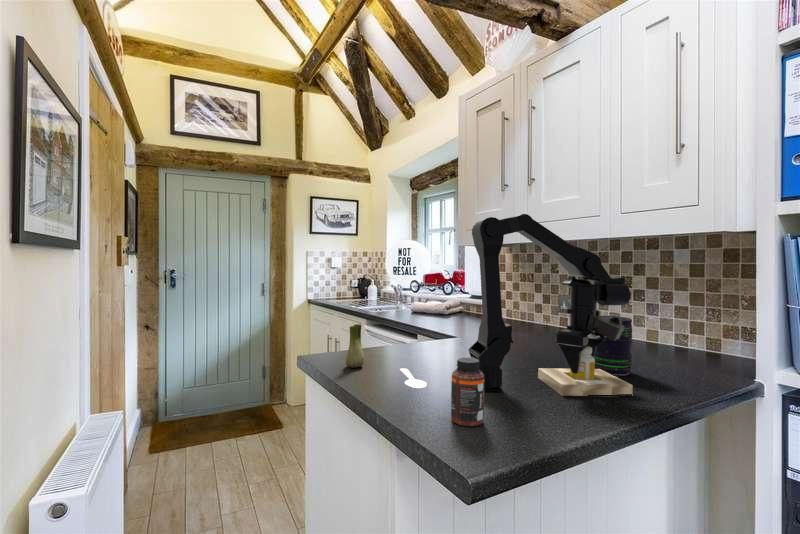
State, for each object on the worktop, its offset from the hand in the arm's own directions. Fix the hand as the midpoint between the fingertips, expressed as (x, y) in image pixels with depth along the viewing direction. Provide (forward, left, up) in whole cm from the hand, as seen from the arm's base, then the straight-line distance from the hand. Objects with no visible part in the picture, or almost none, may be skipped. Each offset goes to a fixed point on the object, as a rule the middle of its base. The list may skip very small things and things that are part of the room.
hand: (582, 369), depth 95 cm
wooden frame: (0, 0, -4) cm, 4 cm away
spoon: (-41, +6, -4) cm, 42 cm away
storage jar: (+15, +14, -4) cm, 21 cm away
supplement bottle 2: (0, 0, -4) cm, 4 cm away
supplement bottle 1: (-32, -22, -4) cm, 39 cm away
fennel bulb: (-56, +16, -4) cm, 58 cm away
